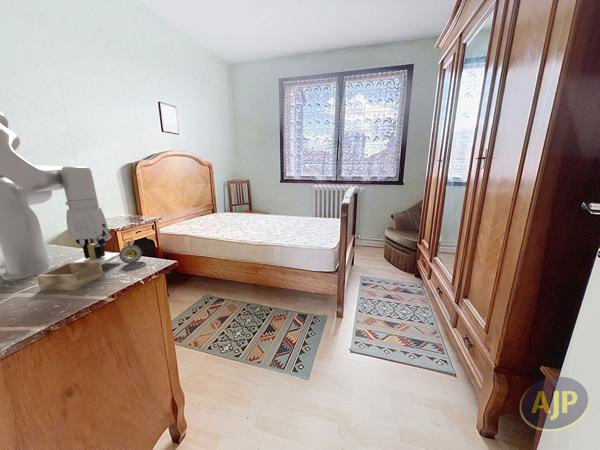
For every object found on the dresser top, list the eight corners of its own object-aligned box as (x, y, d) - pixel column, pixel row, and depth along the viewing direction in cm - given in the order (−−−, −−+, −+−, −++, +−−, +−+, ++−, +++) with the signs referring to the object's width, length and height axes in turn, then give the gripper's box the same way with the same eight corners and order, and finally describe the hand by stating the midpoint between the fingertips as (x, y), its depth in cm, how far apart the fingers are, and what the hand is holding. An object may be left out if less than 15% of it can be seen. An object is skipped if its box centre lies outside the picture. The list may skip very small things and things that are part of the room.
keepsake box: (40, 292, 70) (36, 276, 69) (72, 277, 79) (68, 262, 78) (76, 291, 70) (72, 275, 69) (103, 276, 80) (100, 262, 78)
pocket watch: (135, 272, 83) (130, 243, 80) (114, 270, 84) (108, 242, 82) (153, 263, 90) (149, 237, 88) (134, 261, 92) (130, 236, 90)
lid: (67, 266, 81) (63, 249, 79) (93, 255, 91) (89, 240, 89) (99, 265, 81) (96, 249, 79) (121, 254, 91) (118, 239, 89)
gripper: (47, 207, 77) (61, 261, 82) (99, 205, 78) (111, 260, 82) (68, 203, 85) (80, 254, 89) (116, 202, 85) (126, 252, 89)
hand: (95, 256), depth 85 cm, fingers closed on lid, 3 cm apart
